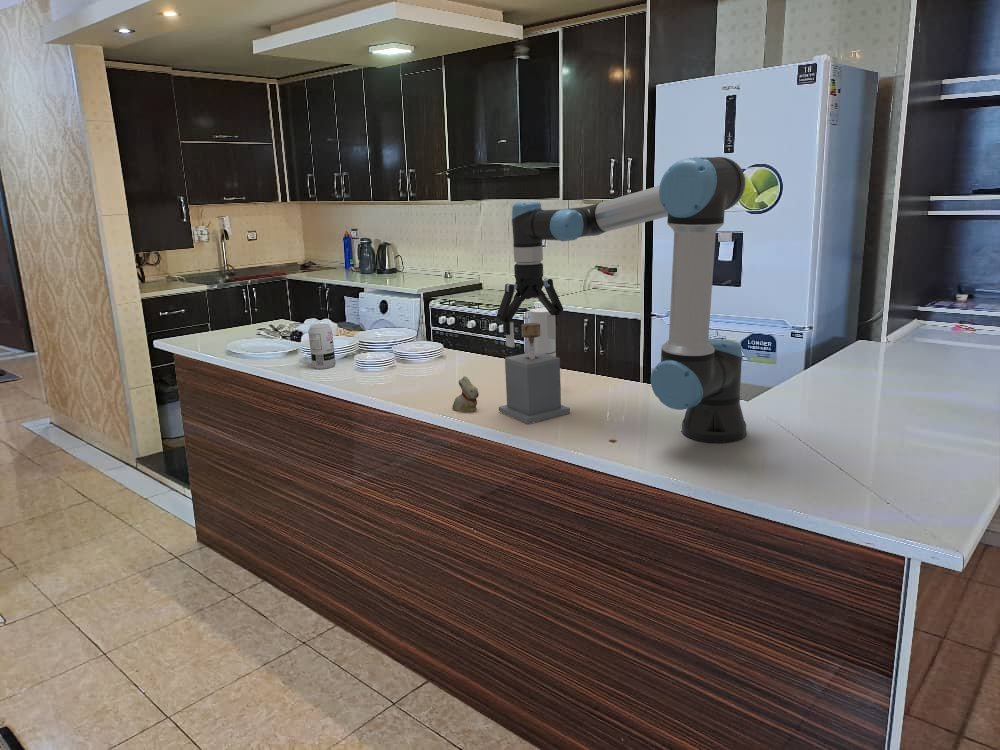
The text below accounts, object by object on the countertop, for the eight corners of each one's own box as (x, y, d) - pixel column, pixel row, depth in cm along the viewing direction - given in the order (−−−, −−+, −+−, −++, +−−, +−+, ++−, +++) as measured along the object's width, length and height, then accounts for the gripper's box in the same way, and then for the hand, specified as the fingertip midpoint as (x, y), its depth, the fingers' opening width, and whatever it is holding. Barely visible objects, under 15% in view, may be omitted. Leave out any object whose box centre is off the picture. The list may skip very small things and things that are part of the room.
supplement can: (311, 365, 268) (307, 325, 264) (334, 363, 270) (330, 322, 266) (313, 370, 260) (308, 329, 257) (336, 367, 263) (332, 326, 259)
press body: (570, 413, 200) (568, 357, 196) (527, 424, 193) (525, 367, 189) (539, 402, 211) (537, 349, 207) (498, 411, 204) (496, 357, 200)
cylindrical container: (555, 395, 216) (552, 312, 210) (531, 395, 218) (528, 312, 211) (558, 389, 223) (556, 307, 217) (535, 388, 225) (532, 307, 218)
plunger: (554, 398, 200) (552, 324, 194) (529, 404, 195) (526, 329, 190) (536, 391, 206) (534, 320, 201) (512, 397, 202) (509, 324, 197)
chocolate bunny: (464, 415, 203) (462, 380, 200) (450, 408, 209) (448, 374, 207) (481, 411, 206) (479, 376, 203) (466, 404, 212) (464, 371, 210)
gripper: (557, 257, 201) (560, 333, 206) (480, 266, 188) (484, 347, 193) (575, 259, 195) (576, 337, 200) (495, 268, 182) (500, 352, 187)
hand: (531, 342), depth 197 cm, fingers open, 13 cm apart
